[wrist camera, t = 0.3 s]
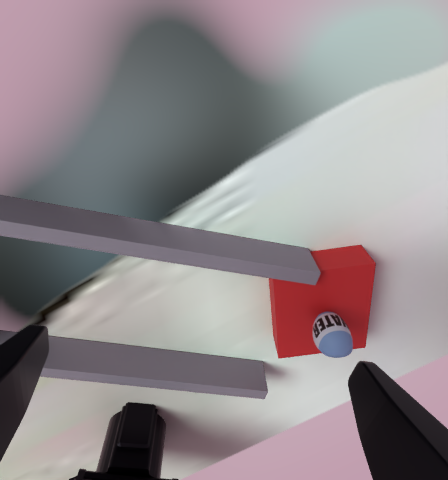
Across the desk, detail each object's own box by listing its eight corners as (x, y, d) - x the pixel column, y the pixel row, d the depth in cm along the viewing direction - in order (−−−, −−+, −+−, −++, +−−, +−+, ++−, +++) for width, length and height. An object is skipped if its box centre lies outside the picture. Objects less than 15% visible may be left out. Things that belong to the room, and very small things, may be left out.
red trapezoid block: (266, 254, 24) (283, 313, 18) (358, 241, 24) (404, 298, 18) (272, 331, 28) (288, 399, 22) (351, 321, 28) (387, 387, 22)
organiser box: (259, 368, 29) (264, 399, 27) (-41, 334, 26) (-69, 365, 23) (308, 248, 23) (320, 272, 21) (-78, 181, 20) (-122, 200, 17)
